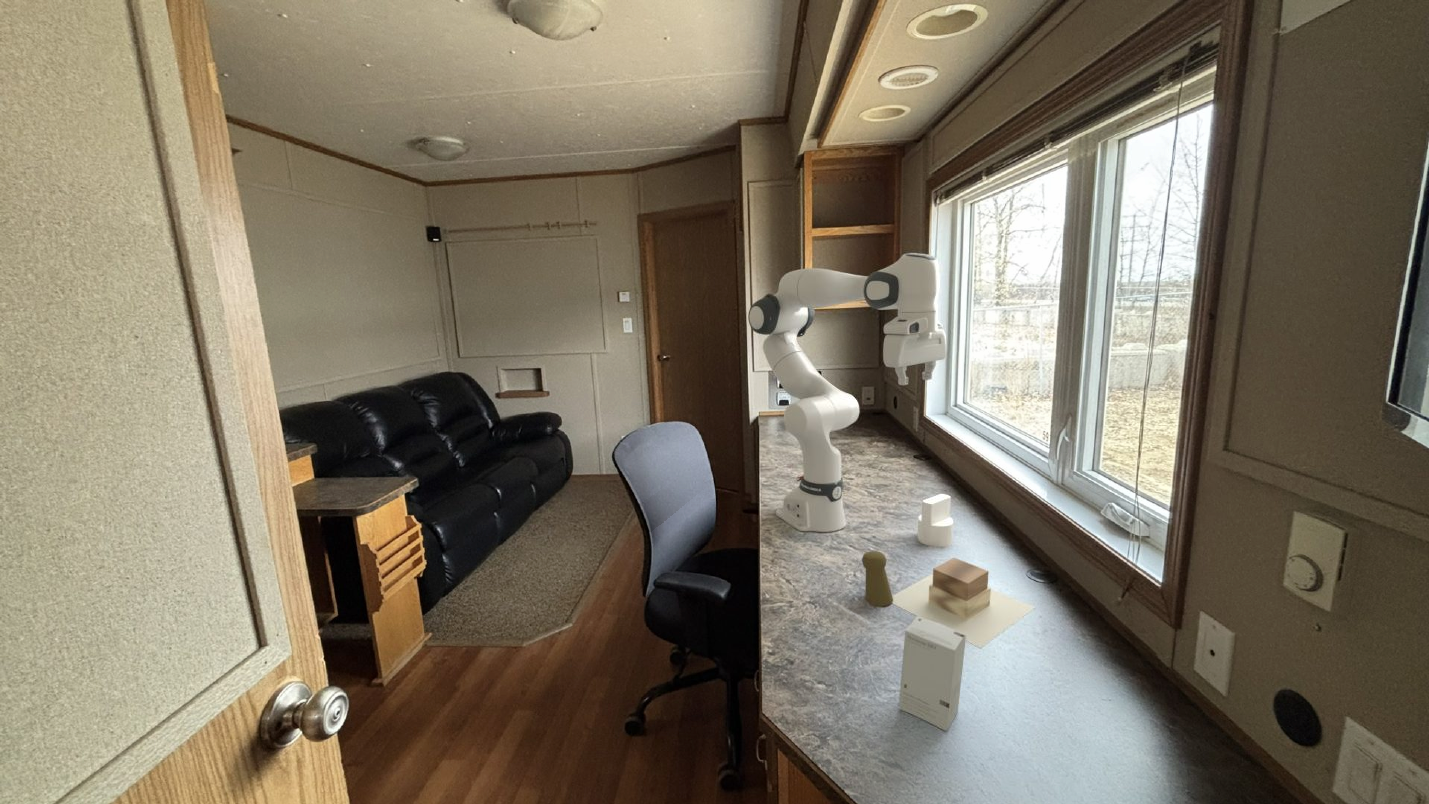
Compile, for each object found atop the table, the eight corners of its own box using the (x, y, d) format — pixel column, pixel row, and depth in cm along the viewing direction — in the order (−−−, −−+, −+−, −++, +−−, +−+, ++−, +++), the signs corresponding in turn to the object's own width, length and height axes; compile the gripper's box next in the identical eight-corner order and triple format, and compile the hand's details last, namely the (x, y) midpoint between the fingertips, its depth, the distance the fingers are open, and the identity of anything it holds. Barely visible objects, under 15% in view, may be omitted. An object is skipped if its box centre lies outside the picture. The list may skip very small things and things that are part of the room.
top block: (932, 585, 122) (933, 568, 121) (953, 573, 126) (953, 557, 126) (967, 601, 115) (968, 583, 115) (987, 588, 120) (988, 571, 119)
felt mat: (885, 602, 124) (885, 599, 124) (941, 570, 137) (942, 568, 137) (980, 651, 107) (980, 648, 107) (1035, 610, 119) (1035, 607, 119)
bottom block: (928, 601, 123) (929, 585, 122) (951, 588, 128) (952, 572, 127) (967, 620, 116) (968, 603, 115) (989, 605, 121) (990, 588, 120)
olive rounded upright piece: (894, 606, 121) (888, 558, 120) (866, 607, 122) (859, 559, 121) (891, 593, 127) (886, 547, 126) (864, 594, 128) (858, 548, 127)
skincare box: (898, 710, 93) (900, 630, 90) (911, 689, 97) (914, 613, 94) (950, 734, 88) (954, 650, 85) (962, 711, 92) (966, 631, 89)
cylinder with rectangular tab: (930, 529, 160) (932, 490, 157) (959, 540, 152) (961, 499, 150) (910, 538, 155) (912, 497, 152) (939, 550, 147) (941, 507, 145)
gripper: (931, 320, 139) (929, 375, 141) (878, 326, 127) (877, 386, 130) (954, 321, 133) (952, 378, 136) (902, 327, 122) (900, 389, 125)
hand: (915, 382), depth 133 cm, fingers open, 8 cm apart
